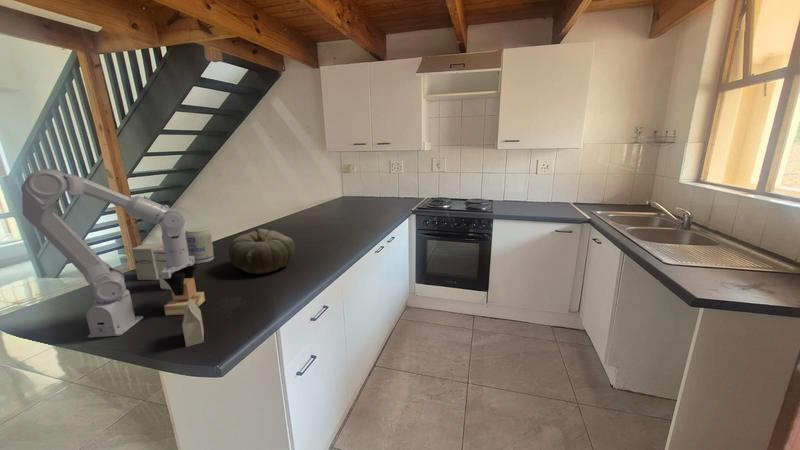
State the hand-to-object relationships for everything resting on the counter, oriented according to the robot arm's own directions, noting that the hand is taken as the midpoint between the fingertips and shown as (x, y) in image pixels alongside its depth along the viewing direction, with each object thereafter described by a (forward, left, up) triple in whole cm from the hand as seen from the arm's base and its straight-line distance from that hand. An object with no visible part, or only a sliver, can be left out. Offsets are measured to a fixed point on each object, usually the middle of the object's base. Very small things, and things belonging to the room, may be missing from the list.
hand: (183, 291), depth 97 cm
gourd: (+33, -15, -6) cm, 37 cm away
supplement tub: (+46, +16, -6) cm, 49 cm away
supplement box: (+29, +26, -6) cm, 39 cm away
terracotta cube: (0, 0, -2) cm, 2 cm away
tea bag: (-18, -11, -6) cm, 22 cm away
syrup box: (+18, +13, -6) cm, 23 cm away
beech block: (0, 0, -5) cm, 5 cm away
